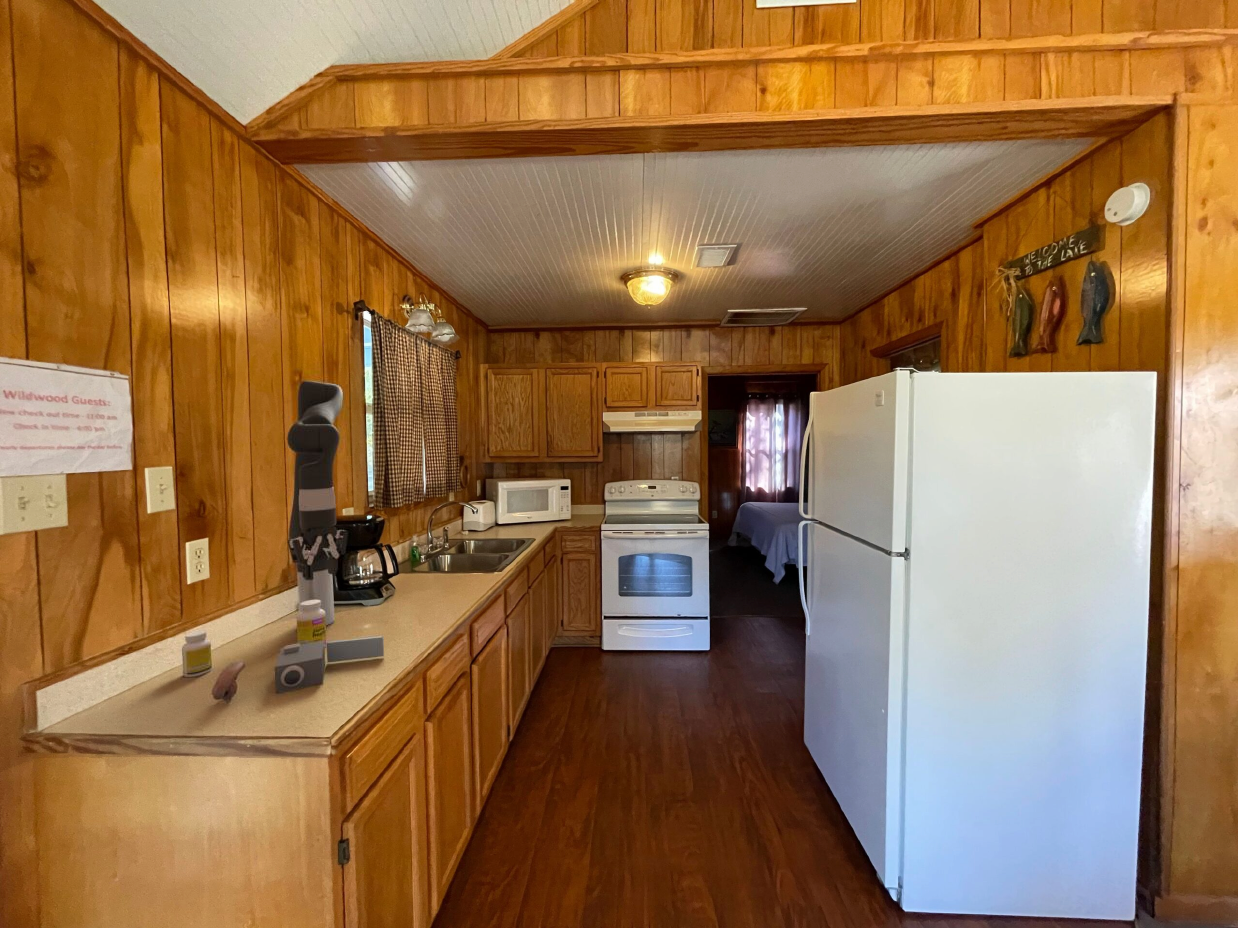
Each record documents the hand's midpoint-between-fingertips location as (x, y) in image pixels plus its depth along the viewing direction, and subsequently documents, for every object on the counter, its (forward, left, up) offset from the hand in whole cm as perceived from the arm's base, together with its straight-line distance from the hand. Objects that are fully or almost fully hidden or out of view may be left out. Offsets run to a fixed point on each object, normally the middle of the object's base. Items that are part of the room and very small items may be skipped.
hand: (321, 576), depth 120 cm
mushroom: (+6, -18, -24) cm, 30 cm away
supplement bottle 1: (-16, -28, -24) cm, 40 cm away
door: (-3, +7, -23) cm, 24 cm away
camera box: (+1, -5, -23) cm, 24 cm away
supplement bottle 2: (-18, -4, -24) cm, 30 cm away
